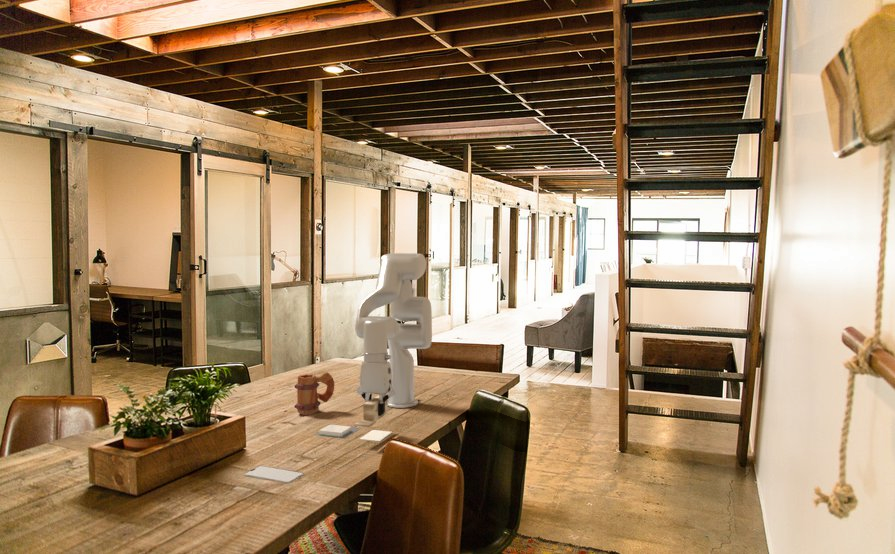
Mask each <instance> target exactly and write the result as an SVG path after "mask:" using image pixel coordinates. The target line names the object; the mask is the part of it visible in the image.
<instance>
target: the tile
mask: <svg viewBox="0 0 895 554" xmlns="http://www.w3.org/2000/svg"><path fill="white" fill-rule="evenodd" d="M351 427H352V426H348V425H340V424H339V425H338V424H337V425H336V424H328V425H327V426H324V427H323V428H321V429H319V430H318V433H319V435H324V436H323V437H325V436H333V437H332V438H335V437H343V436H344V435H346V434H347V433H349V432H351Z"/></svg>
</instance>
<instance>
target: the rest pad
mask: <svg viewBox="0 0 895 554" xmlns="http://www.w3.org/2000/svg"><path fill="white" fill-rule="evenodd" d="M392 433H393V431H387V430H378V429H372V430H370V431H369V432H367V433H366V434H365V435H363V436H360V437H359V440H361V441H369V442H370V441H371V442H377V443H378V442H379V443H380V442H381V441H383V440H384V439H386V438H387V437H389V436H390V435H391V434H392Z"/></svg>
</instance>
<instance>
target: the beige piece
mask: <svg viewBox="0 0 895 554" xmlns="http://www.w3.org/2000/svg"><path fill="white" fill-rule="evenodd" d="M378 404H379V394H377V395H376V396H375V397H372V399H371V400H370V401H368V402H364V403H363V408H362V409H363V419H360V420H358V421H357V422H355V423H354V425H353V427H360V428H371V427H372V426H373V425H375V424H376V423H377V421H378V420H380V419H381V418H383V417H384V416H386V415H387V414H388V412H389V411H388V410H389V409H388V407H389V406H388V404H387V401H386V402H385V412H384V414H383V415H381V416H379V415H378Z"/></svg>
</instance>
